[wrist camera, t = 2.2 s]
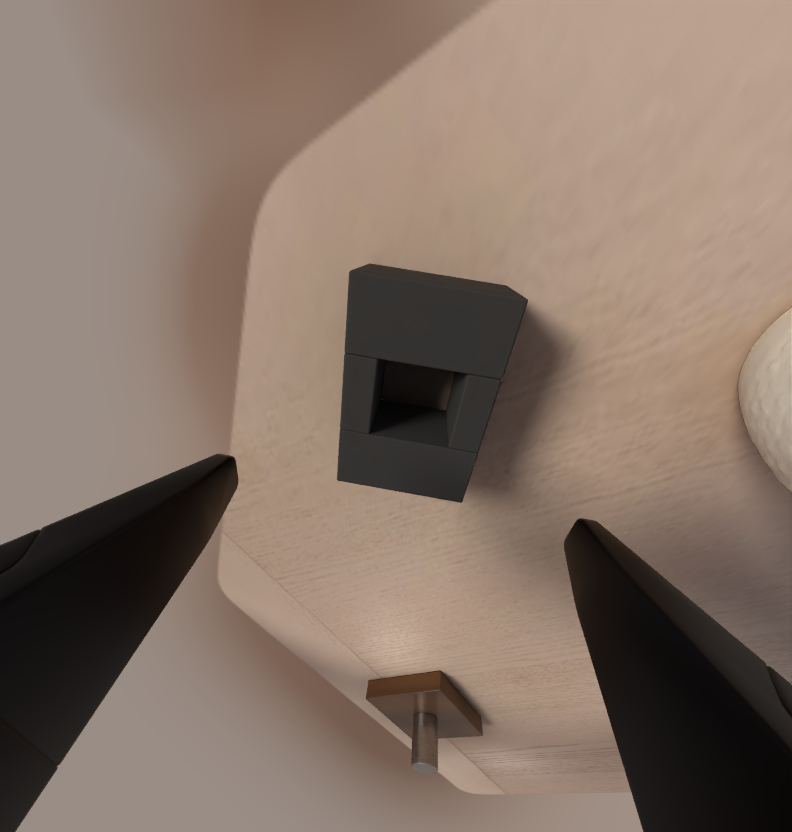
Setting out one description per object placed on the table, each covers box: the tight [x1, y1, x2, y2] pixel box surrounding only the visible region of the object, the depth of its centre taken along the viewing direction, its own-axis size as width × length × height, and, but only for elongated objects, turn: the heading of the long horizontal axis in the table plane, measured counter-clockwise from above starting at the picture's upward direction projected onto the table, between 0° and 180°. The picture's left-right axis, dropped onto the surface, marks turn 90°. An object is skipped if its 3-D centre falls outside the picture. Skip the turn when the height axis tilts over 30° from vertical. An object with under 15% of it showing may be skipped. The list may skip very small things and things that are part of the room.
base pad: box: [366, 671, 483, 773], centre depth 31 cm, size 10×8×5 cm
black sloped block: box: [337, 264, 528, 503], centre depth 14 cm, size 9×6×4 cm, turn 172°
